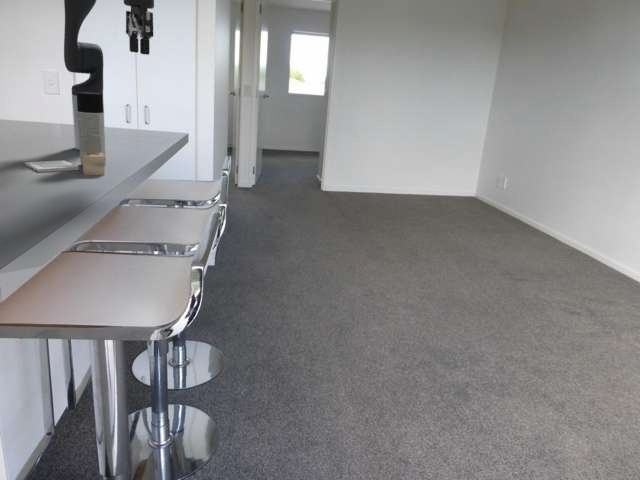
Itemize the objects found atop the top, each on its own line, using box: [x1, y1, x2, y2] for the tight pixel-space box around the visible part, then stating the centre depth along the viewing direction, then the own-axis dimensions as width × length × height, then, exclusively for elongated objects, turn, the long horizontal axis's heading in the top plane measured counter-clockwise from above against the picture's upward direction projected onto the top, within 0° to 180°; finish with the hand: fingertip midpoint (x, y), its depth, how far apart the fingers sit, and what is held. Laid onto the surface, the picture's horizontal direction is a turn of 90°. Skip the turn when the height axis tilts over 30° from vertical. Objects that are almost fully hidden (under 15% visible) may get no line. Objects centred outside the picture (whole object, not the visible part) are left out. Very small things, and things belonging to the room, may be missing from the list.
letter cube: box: [82, 153, 106, 176], centre depth 133 cm, size 5×5×5 cm
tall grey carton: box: [77, 92, 107, 167], centre depth 140 cm, size 7×7×20 cm
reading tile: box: [25, 160, 80, 173], centre depth 135 cm, size 10×10×1 cm
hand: (139, 53), depth 135 cm, fingers open, 8 cm apart
